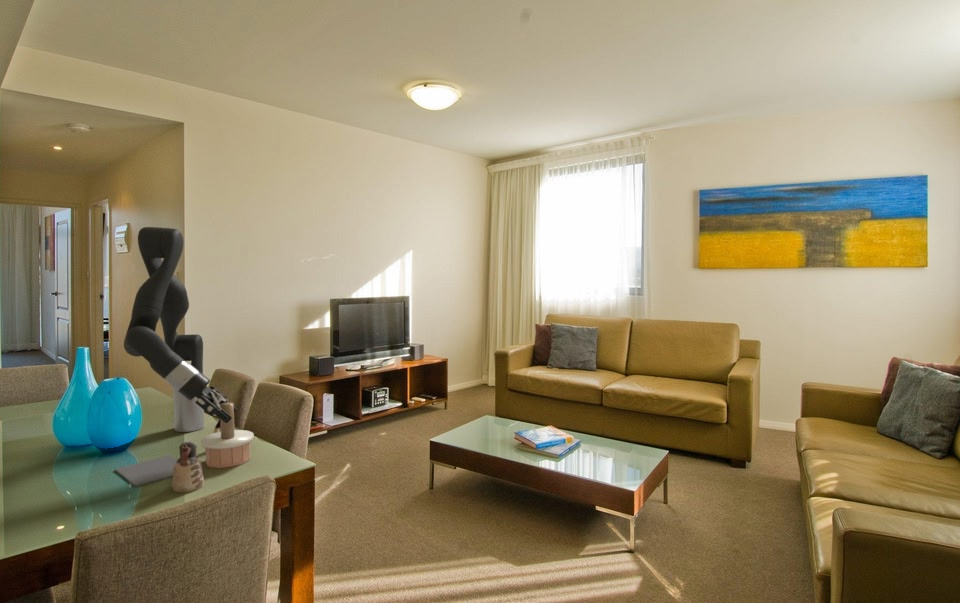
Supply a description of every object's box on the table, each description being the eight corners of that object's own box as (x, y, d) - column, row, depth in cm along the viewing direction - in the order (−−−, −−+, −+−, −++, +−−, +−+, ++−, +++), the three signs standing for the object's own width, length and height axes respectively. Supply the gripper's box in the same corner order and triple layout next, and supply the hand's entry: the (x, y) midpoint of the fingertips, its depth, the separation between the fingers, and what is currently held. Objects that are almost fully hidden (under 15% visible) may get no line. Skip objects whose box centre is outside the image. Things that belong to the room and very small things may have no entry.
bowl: (199, 461, 153) (198, 441, 153) (238, 450, 162) (238, 431, 162) (217, 471, 146) (216, 450, 145) (257, 459, 155) (256, 440, 154)
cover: (192, 441, 153) (191, 404, 152) (240, 430, 163) (239, 395, 163) (213, 452, 144) (212, 413, 143) (262, 440, 154) (261, 403, 153)
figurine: (208, 480, 139) (207, 437, 139) (197, 492, 132) (195, 446, 132) (180, 482, 139) (178, 437, 138) (167, 493, 132) (165, 447, 131)
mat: (115, 470, 146) (114, 468, 146) (169, 456, 157) (169, 455, 157) (135, 487, 135) (135, 485, 135) (193, 471, 146) (193, 469, 146)
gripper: (191, 375, 143) (237, 413, 147) (203, 366, 157) (245, 401, 161) (170, 395, 142) (217, 433, 146) (184, 384, 156) (227, 419, 160)
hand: (232, 416), depth 153 cm, fingers open, 8 cm apart
